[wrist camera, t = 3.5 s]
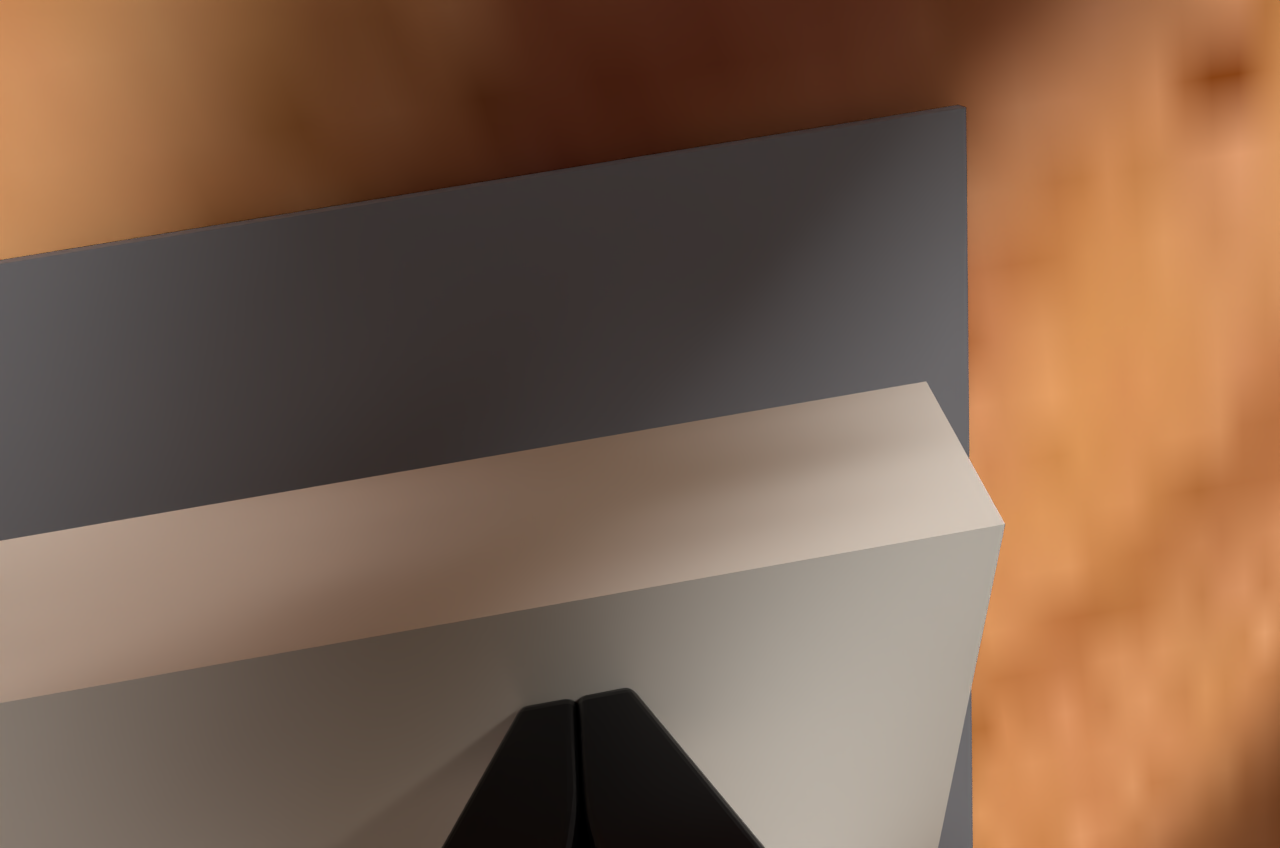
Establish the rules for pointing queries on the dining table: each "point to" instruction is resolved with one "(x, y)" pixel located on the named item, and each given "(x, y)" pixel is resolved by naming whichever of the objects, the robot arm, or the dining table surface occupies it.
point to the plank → (512, 636)
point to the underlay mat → (488, 325)
